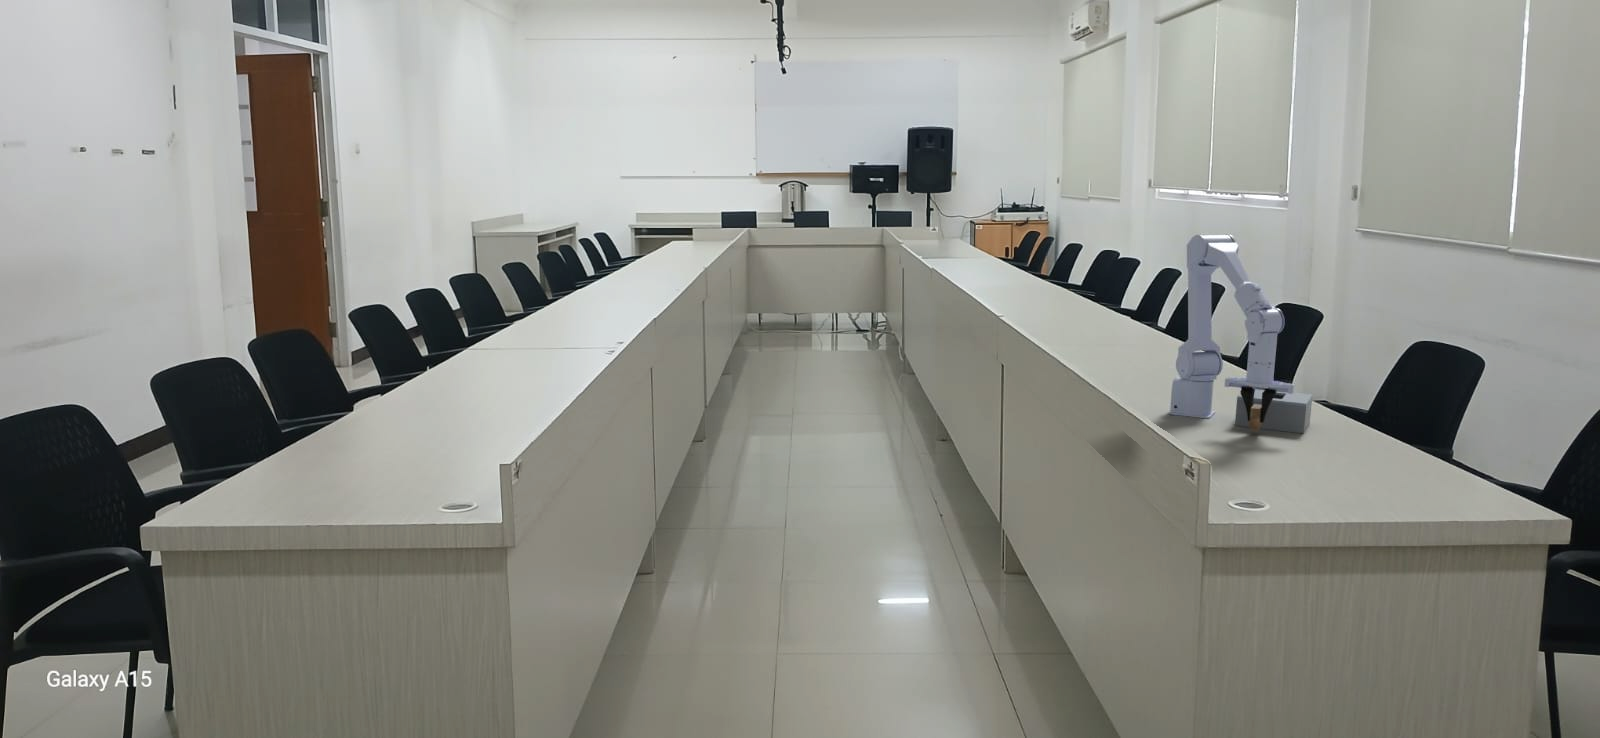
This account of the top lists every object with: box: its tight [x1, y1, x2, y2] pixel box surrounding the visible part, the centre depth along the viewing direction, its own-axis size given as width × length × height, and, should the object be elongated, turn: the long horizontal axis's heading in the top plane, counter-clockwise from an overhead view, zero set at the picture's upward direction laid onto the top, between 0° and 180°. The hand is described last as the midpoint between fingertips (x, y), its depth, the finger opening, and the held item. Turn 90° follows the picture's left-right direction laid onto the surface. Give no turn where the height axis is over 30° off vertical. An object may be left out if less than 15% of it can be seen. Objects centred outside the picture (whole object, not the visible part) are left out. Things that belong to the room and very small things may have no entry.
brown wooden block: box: [1248, 404, 1262, 431], centre depth 263 cm, size 2×5×5 cm, turn 151°
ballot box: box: [1234, 389, 1313, 434], centre depth 274 cm, size 15×12×7 cm
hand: (1255, 420), depth 264 cm, fingers closed on brown wooden block, 2 cm apart
